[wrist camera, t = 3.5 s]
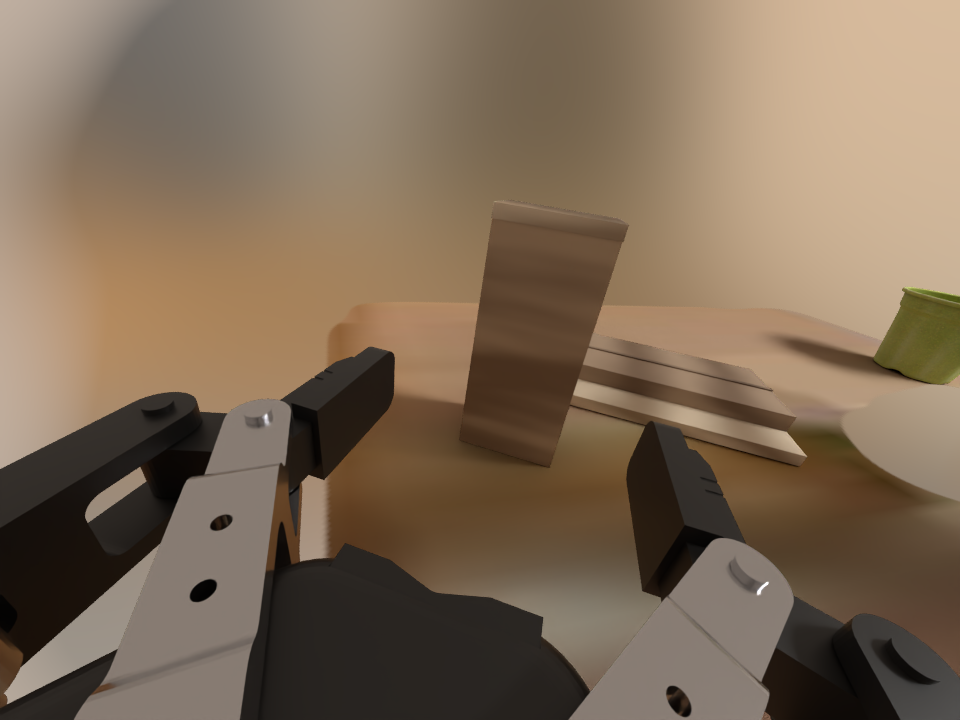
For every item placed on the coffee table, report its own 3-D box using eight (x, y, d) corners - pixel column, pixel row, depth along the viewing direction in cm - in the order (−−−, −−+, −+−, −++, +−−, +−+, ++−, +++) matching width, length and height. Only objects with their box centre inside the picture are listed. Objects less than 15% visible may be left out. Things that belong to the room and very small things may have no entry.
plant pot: (997, 405, 35) (1079, 326, 31) (880, 375, 38) (941, 299, 34) (932, 368, 43) (991, 301, 39) (840, 346, 45) (885, 281, 41)
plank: (550, 468, 18) (628, 225, 12) (458, 440, 19) (493, 201, 13) (555, 427, 21) (620, 218, 16) (476, 405, 22) (510, 200, 16)
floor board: (739, 389, 29) (752, 368, 28) (799, 466, 21) (820, 440, 20) (532, 339, 32) (537, 319, 32) (514, 389, 24) (519, 363, 23)
